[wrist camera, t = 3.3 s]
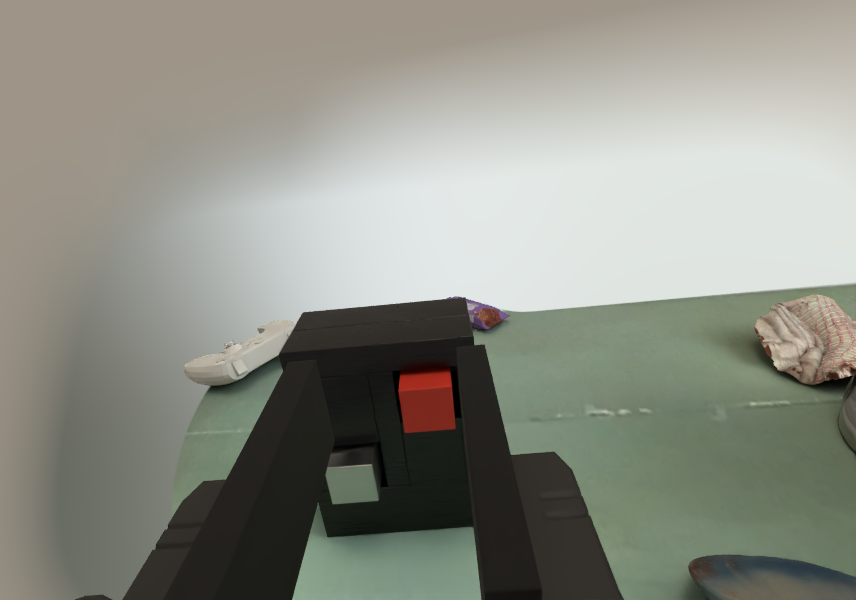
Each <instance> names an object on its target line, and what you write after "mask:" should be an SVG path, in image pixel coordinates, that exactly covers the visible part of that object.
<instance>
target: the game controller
mask: <svg viewBox="0 0 856 600" xmlns="http://www.w3.org/2000/svg"><path fill="white" fill-rule="evenodd" d="M295 325H296V324H295V323H294V322H291V321H285V320H284V321H275V322H271V323H268V324H265V325H263V326H261V327H259V328H258V331H259V333H260V334H259V335H257V336H255V337H253V338H251V339H249V340H247V341H245V342H243V343H241V344H232V342H234V341H230V342H227V343H225V344H224V345H227V346H228V347H226V348H225V349H224V352H222V353H218V354H212V355H206V356H202V357H199V358H196V359H194V360H192V361H190V362H189V363H187V364H186V365H185V366H184V371H185V374H186V375H187V377H188V378H190V379H191V380H193V381H194V382H197V383H200V384H204V385H210V386H217V385H225V384H229V383H232V382H235V381H237V380H239V379H241V378H243V377H245V376H246V375H247V374H248V373H249V372H251V371H253V370H254V369H256V368H258V367H259V366H261V365H263V364H264V363H266V362H268V361H270V360H271V359H273V358H275V357H276V356H278V355H279V352H280V351H281V349H282V347H283V346H284V344H285V342H286V340H287V339H288V337H289V335H290V334H291V332H292V330H293V329H294V327H295Z"/></svg>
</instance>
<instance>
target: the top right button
mask: <svg viewBox="0 0 856 600" xmlns="http://www.w3.org/2000/svg"><path fill="white" fill-rule="evenodd" d="M398 392H399V398H400V405H401V411H402V418H403V425H404V431H405V433H413V432H425V431H437V430H449V429H455V428H456V426H455V415H454V404H453V393H452V382H451V372H450V366H446V367H434V368H423V369H412V370H400V380H399V391H398Z"/></svg>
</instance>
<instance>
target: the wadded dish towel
mask: <svg viewBox="0 0 856 600" xmlns="http://www.w3.org/2000/svg"><path fill="white" fill-rule="evenodd" d="M770 310H771V311H770V313H769V314H767V315H764V316H761V317H760V318H758V319H757V320H758V321H757V324H755V325H756V326H755V331H756V333H757V334H759V336H758V337H761V338H760V339H759V340H760V342H761V343H762V345H763V347H764V349H765V351H766V354H767V355H768V356H771V357H772V358H771V359H774V362H773V363H774V364H775V365H774V366H776V367H777V368H778V369H777V370H780V371H786V372H787V373H790V374H791V375H793V376H794V377H796V378H797V379H798V380H799V381H801V383H804V384H810V385H812V384H814V385H816V384H817V383H822V382H823V381H825V380H828V381H829V380H831V379H835V380H837V379H838V378H845V377H847V376H852V375H854V374H855V375H856V322H855V321H854V320H853V319H851V318H850V317H849V316H848V315H847V314H846V312H845V311H844V310H843V309H842V308H841V307H840V306H839V305H838V304H837V303H836V302H835V301H834V300H833V299H831V298H829V297H825V296H821V295H808V296H806V297H803V298H798V299H797V300H796V299H795V300H793V301H792V302H784V303H777V304H775V305H773V306H772V308H770Z"/></svg>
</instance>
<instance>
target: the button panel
mask: <svg viewBox="0 0 856 600" xmlns="http://www.w3.org/2000/svg"><path fill="white" fill-rule="evenodd" d="M463 346H474V336H473V331H472V326H471V321H470V316H469V311H468V306H467V301H466V298H453V299H443V300H433V301H421V302H410V303H400V304H389V305H379V306H368V307H357V308H346V309H336V310H326V311H314V312H304V313H302V315H301V317H300V318H299V320H298V322H297V324H296V325H295V327H294V329H293V330H292V332H291V334H290V335H289V337H288V339H287V340H286V342H285V344H284V346H283V347H282V349H281V351H280V352H279V356H280V360H281V364H282V368H283V371H284V369H285V367H286V365H287V363H288V362H295V361H306V360H316V361H317V365H318V370H319V374H320V378H321V383H322V387H323V392H324V396H325V400H326V405H327V409H328V413H329V418H330V422H331V426H332V431H333V435H334V439H335V441H334V445H333V446H343V445H355V444H367V443H378V445H379V450H380V456H381V461H382V467H383V471H382V479H381V488H380V496H379V501H369V502H356V503H343V504H333V503H332V499H331V495H330V491H329V487H328V483H327V479H326V475H325V478H324V482H323V486H322V490H321V493H320V497H319V501H318V503H319V507H320V511H321V515H322V518H323V522H324V526H325V530H326V533H327V537H335V536H349V535H362V534H376V533H389V532H403V531H416V530H429V529H443V528H456V527H470V526H474V525H473V516H472V507H471V498H470V489H469V480H468V471H467V462H466V453H465V444H464V434H463V424H462V413H461V401H460V390H459V378H458V367H457V356H456V347H463ZM446 366H450V372H451V382H452V393H453V404H454V415H455V426H456V428H455V429H449V430H437V431H425V432H413V433H405V431H404V425H403V418H402V411H401V405H400V398H399V392H398V391H399V380H400V370H412V369H423V368H434V367H446Z"/></svg>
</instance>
